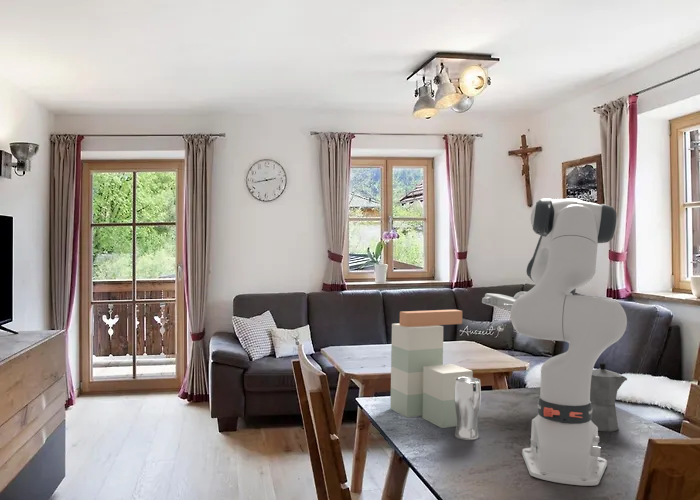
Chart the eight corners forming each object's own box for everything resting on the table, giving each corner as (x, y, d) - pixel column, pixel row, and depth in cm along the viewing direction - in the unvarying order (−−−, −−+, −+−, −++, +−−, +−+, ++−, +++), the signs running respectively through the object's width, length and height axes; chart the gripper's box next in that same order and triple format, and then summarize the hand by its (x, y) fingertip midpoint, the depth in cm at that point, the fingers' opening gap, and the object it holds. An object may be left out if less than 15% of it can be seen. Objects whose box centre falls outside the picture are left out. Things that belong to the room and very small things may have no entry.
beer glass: (468, 442, 150) (469, 384, 150) (447, 435, 155) (448, 379, 155) (485, 437, 154) (486, 380, 154) (464, 430, 160) (465, 375, 159)
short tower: (451, 414, 175) (452, 364, 175) (471, 423, 166) (472, 370, 166) (422, 418, 170) (423, 366, 170) (441, 428, 161) (442, 373, 161)
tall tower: (423, 404, 185) (425, 322, 185) (441, 413, 176) (443, 326, 175) (390, 408, 180) (391, 323, 179) (407, 417, 171) (408, 328, 170)
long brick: (454, 322, 186) (454, 309, 186) (462, 323, 182) (462, 310, 182) (399, 324, 177) (399, 311, 177) (406, 326, 174) (406, 313, 173)
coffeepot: (632, 428, 164) (633, 364, 164) (619, 435, 157) (620, 368, 157) (577, 416, 175) (578, 356, 175) (563, 423, 168) (564, 360, 168)
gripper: (503, 289, 201) (473, 287, 194) (550, 301, 184) (519, 300, 177) (500, 307, 202) (470, 306, 195) (547, 321, 184) (515, 320, 177)
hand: (493, 303), depth 185 cm, fingers open, 8 cm apart
